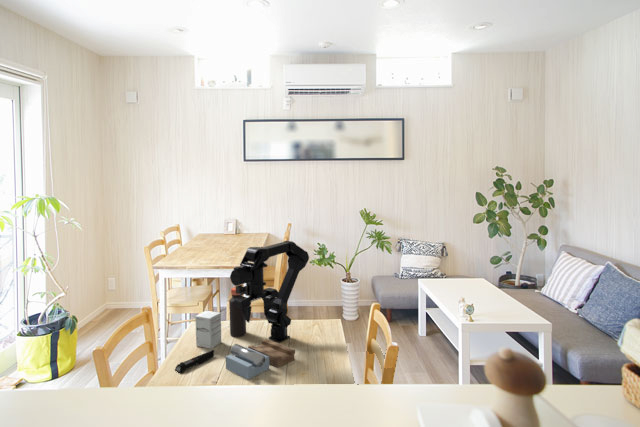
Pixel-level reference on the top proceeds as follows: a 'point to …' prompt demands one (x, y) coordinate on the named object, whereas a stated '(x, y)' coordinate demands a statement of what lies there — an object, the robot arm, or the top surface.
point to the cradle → (245, 366)
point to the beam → (275, 352)
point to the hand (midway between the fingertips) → (257, 318)
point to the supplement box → (208, 329)
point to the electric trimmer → (194, 361)
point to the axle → (248, 355)
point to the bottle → (236, 317)
